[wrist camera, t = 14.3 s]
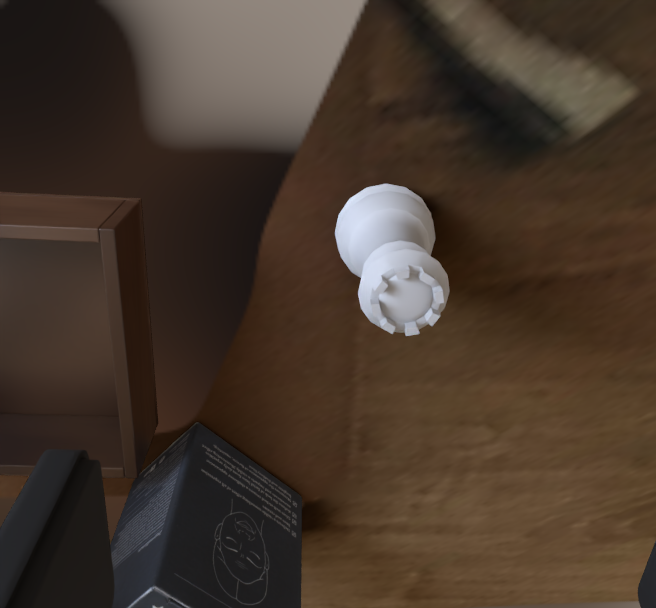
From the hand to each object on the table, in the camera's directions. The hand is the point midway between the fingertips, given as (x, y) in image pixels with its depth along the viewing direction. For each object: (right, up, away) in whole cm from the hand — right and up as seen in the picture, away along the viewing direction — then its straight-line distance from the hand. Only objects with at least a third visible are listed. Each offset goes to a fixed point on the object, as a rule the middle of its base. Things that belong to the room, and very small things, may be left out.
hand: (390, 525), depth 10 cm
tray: (-17, +3, +20) cm, 26 cm away
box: (-7, -7, +25) cm, 27 cm away
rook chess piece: (+1, +7, +19) cm, 20 cm away
